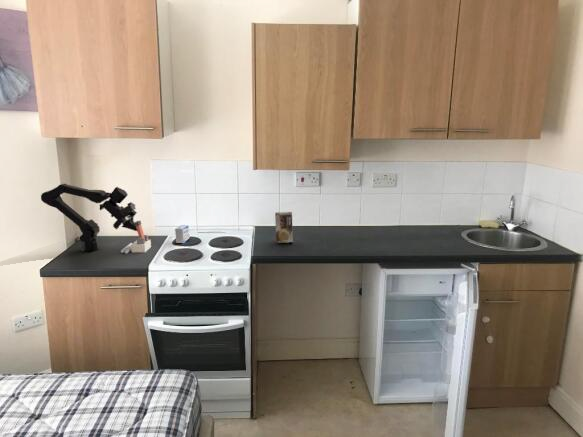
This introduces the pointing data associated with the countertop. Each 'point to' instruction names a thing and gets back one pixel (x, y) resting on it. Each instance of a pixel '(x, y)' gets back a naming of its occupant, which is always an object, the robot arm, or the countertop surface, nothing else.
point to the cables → (126, 249)
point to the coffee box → (284, 227)
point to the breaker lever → (139, 229)
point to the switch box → (141, 244)
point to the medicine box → (182, 234)
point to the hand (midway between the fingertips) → (137, 230)
